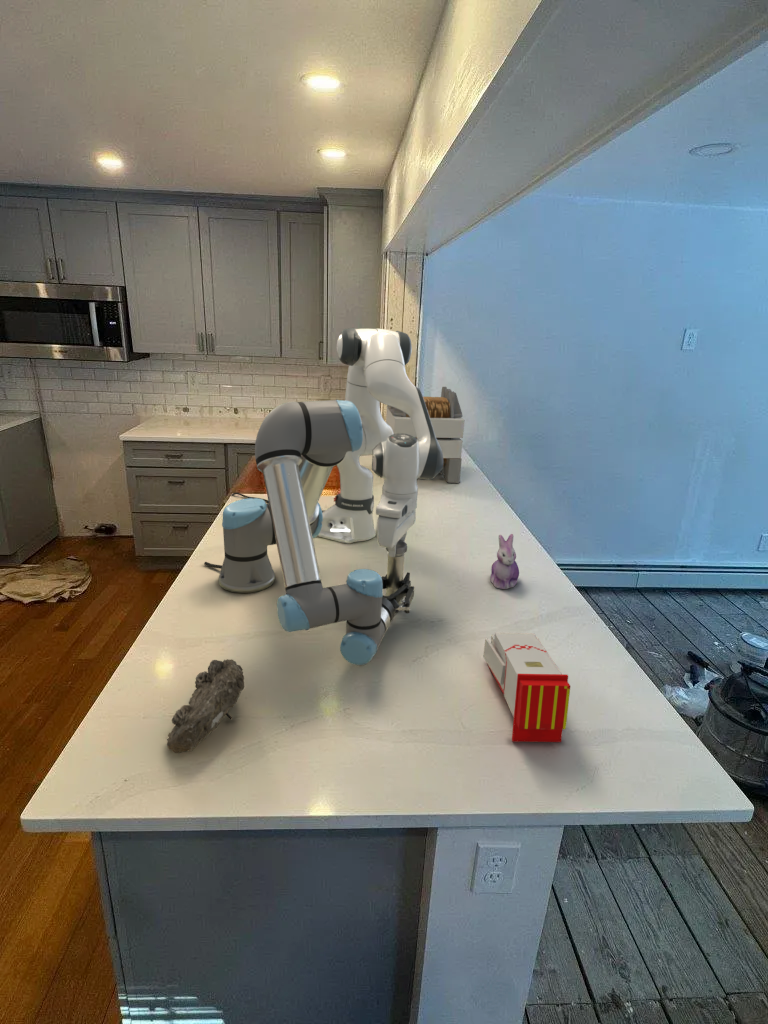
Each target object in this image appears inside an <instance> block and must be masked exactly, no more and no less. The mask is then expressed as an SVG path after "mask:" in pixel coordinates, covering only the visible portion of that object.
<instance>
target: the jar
mask: <svg viewBox="0 0 768 1024" xmlns="http://www.w3.org/2000/svg"><path fill="white" fill-rule="evenodd" d="M386 564H387V565H386V574H387V582H386V589H385V596H390V595H391V594H392V593H395V592H396V591H397V590H398V589H399V588H400V587H401V585H402V581H403V579H404V568H405V553H403V554H396V556H395V557H390V556H389V555H388V554H387V563H386ZM402 601H403V599H402V600H400V601H399V602H398V604H399V605H401V603H402Z"/></svg>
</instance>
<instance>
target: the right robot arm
mask: <svg viewBox="0 0 768 1024" xmlns="http://www.w3.org/2000/svg"><path fill="white" fill-rule="evenodd" d="M412 351H413V347H412V340H411V338H410V336H409V334H408V333H406V332H404V331H400V330H396V331H395V330H391V329H387V328H377V327H376V328H355V327H349V328H348V327H347V328H344V329H342V331H340V332H339V335H338V338H337V341H336V353H337V357H338V360H339V361H340V362H341V363H342V364H343V365H346V366H348V368H347V374H346V385H345V394H344V401H350V402H352V403H353V404H354V405H355V406H356V407H357V409H358V411H359V414H360V417H361V422H362V429H363V441H362V445H361V447H360V449H359V450H357V451H354V452H352V451H348V452H347V453H346V455H345V457H344V459H343V460H342V462H341V463H339V464H338V465H336V467H337V470H338V473H339V482H340V484H339V485H340V488H339V489H340V490H339V491H338V492H337V494H336V495H335V496H334V497H333V502H334V504H333V505H331V506H329V507H328V508H326V509H324V510H322V514H323V521H322V528H321V531H320V533H319V534H318V536H317V537H319V538H323V539H326V540H330V541H336V542H339V543H343V544H352V543H357V542H365V541H368V540H372V539H373V538H375V537H376V538H377V539H376V541H377V544H378V546H379V547H381V548H385V549H386V548H388V551H387V556H388V555H389V556H390V557H395V556H396V554H397V549H396V544H397V542H398V541H403V542H405V543H406V538H407V535H408V531H409V530H410V529H411V528H412V526H413V525H414V524H415V522H416V517H417V516H416V515H417V514H416V513H417V512H416V511H417V507H418V495H419V493H418V492H419V487H418V479H419V480H432V479H434V478H436V477H437V476H438V475H439V474H441V472H440V471H441V470H442V468H443V453H442V450H441V447H440V445H439V443H438V441H437V439H436V436H435V433H434V430H433V427H432V423H431V420H430V417H429V414H428V410H427V407H426V404H425V401H424V398H423V397H424V396H423V394H422V391H421V389H420V388H419V387H418V386H416V385H414V383H412V381H411V380H410V378H409V376H408V374H407V371H406V365H407V364H408V363H409V362H410V359H411V356H412ZM381 404H382V405H385V406H387V405H389V406H392V407H395V408H397V409H399V410H401V411H403V412H405V413H406V414H408V415H409V416H410V418H411V420H412V422H413V426H414V429H415V432H416V436H417V439H418V440H417V439H416V438H415V437H413V436H411V435H408V434H404V433H397V434H394V433H393V430H392V428H391V427H390V426H389V425H388V424H387V423H386V420H385V419H384V417H383V416H382V411H381ZM364 456H365V457H366V456H367V457H368V456H372V459H371V469H369V468H367V467H366V466H364V465H362V464H361V463H360V457H364ZM371 470H372V471H371ZM373 473H374V474H375V475H376V476H377V477H379V478H380V479H381V478H382V479H383V484H382V487H381V495H380V499H379V502H378V504H377V505H376V508H375V496H374V474H373ZM235 495H238V496H241V497H242V498H244V499H247V498H253V499H255V498H256V497H254V496H248V495H245V494H243V493H241V492H233V493H232V494H231V495H230V496H231V497H234V496H235ZM258 498H259V499H262V500H264V501H265V503H267V504H269V502H268V499H265V498H260V497H258ZM374 509H375V515H376V516H378V517H377V522H376V523H377V524H376V528H375V523H374V513H373V512H374Z"/></svg>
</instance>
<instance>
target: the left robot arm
mask: <svg viewBox="0 0 768 1024" xmlns="http://www.w3.org/2000/svg"><path fill="white" fill-rule="evenodd" d="M362 441H363V429H362V422H361V417H360V414H359V411H358V409H357V407H356V406H355V405H354V404H353V403H352V402H350V401H345V400H342V399H341V400H340V399H331V400H311V401H310V400H309V401H308V400H307V401H287V402H283V403H281V404H279V405H277V406H275V407H274V408H273V409H272V410H271V411H269V412H268V413H267V415H266V416H265V417H264V419H263V420H262V421H261V424H260V426H259V429H258V432H257V434H256V438H255V443H254V457H255V465H256V469H257V470H258V471H259V472H261V473H262V476H263V481H264V486H265V491H266V496H267V497H266V498H267V500H268V502H269V503H268V502H265V501H264V500H262V499H263V498H261V499H259V498H260V497H255V499H253V498H242V499H238V500H235V501H233V502H230V503H229V504H228V505H226V506H225V507H224V508H223V511H222V523H221V526H222V533H223V550H224V559H223V561H222V565H221V564H215V563H210V562H209V561H208V562H207V561H204V562H203V565H204V566H207V567H209V568H214V569H219V570H220V572H219V575H218V583H219V585H220V587H221V588H222V589H224V590H225V591H228V592H231V593H236V594H249V593H256V592H260V591H263V590H265V589H268V588H270V587H271V586H272V585H273V584H274V583H275V570H274V568H273V566H272V563H271V561H270V558H269V555H268V546H274V545H276V548H277V553H278V558H279V559H278V560H279V563H280V569H281V574H282V581H283V585H284V591H285V594H283V595H281V596H279V597H278V598H277V600H276V601H277V602H276V609H277V611H276V614H277V618H278V622H279V624H280V627H281V628H282V629H283V630H284V632H287V633H294V632H299V631H308V630H311V629H314V628H319V627H323V626H327V625H332V624H337V623H341V622H345V634H344V635H342V639H341V642H340V645H339V650H340V654H341V656H342V657H343V658H344V660H345V661H347V662H348V663H349V664H351V665H354V666H363V665H367V664H368V663H370V662H371V661H372V660H373V658H374V656H375V655H376V654H377V652H378V649H379V647H380V645H381V643H382V641H383V639H384V637H385V635H386V633H387V631H388V629H389V627H390V625H391V624H392V621H393V620H394V618H395V615H397V613H399V612H400V611H403V612H404V613H405V614H409V613H410V611H411V610H410V609H411V608H410V607H411V603H412V602H413V599H414V596H415V586H414V585H412V581H411V572H409V571H407V572H406V574H405V576H403V581H402V585H401V587H400V588H399V589H398V590H397V591H396V592H395V593H392V594H391V595H390V596H386V595H384V590H386V582H387V573H386V574H385V576H382V575H380V574H379V573H378V572H377V571H375V570H372V569H369V568H359V569H354V570H353V571H350V572H349V573H348V575H347V578H346V581H345V583H342V584H337V585H331V586H327V587H324V586H323V584H322V577H321V572H320V568H319V562H318V558H317V553H316V548H315V542H314V539H315V538H317V537H319V536H318V534H319V533H320V531H321V528H322V521H323V514H322V511H323V510H322V509H323V508H322V507H321V504H320V503H319V501H320V499H321V496H322V494H323V491H324V489H325V487H326V485H327V482H328V479H329V478H330V475H331V473H332V471H333V468H334V467H337V465H338V464H339V463H341V462H342V460H343V459H344V457H345V455H346V453H347V452H348V451H352V452H354V451H357V450H359V449H360V447H361V445H362ZM403 599H404V600H403ZM400 600H402V602H401V605H399V604H398V602H399V601H400Z"/></svg>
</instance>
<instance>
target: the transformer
mask: <svg viewBox="0 0 768 1024" xmlns="http://www.w3.org/2000/svg"><path fill="white" fill-rule="evenodd" d="M440 393H441V394H440V396H423V398H424V401H425V404H426V407H427V410H428V414H429V417H430V420H431V423H432V427H433V430H434V433H435V436H436V439H437V441H438V443H439V445H440V447H441V450H442V453H443V468H442V470H441V471H440V474H441V475H443V478H444V479H445V481H446V482H447V483H449V484H455V483H456V484H459V483H461V472H462V461H463V460H462V453H463V442H464V441H463V440H462V439H463V438H464V431H465V430H464V429H465V419H464V418H463V411H462V408H461V405H460V402H459V398H458V395H457V392H455V391H453V390H452V389H451V388H447V386H442V387H441V392H440ZM385 414H386V415H385V422H386V423H387V424H388V425H389V426H390V427H391V428H392V430H393V433H394V434H397V433H404V434H408V435H411V436H413V437H415V438H416V439H417V436H416V432H415V429H414V426H413V422H412V420H411V418H410V416H409V415H408V414H406V413H405V412H403V411H401V410H399V409H397V408H395V407H392V406H389V405H386V413H385ZM417 440H418V439H417Z"/></svg>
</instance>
